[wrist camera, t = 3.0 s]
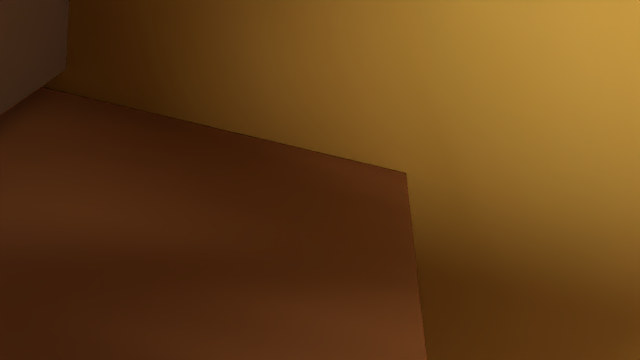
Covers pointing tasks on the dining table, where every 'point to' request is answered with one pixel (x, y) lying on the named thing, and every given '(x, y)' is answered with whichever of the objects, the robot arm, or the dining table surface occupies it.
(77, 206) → the walnut cube
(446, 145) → the dining table surface
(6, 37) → the charcoal block
